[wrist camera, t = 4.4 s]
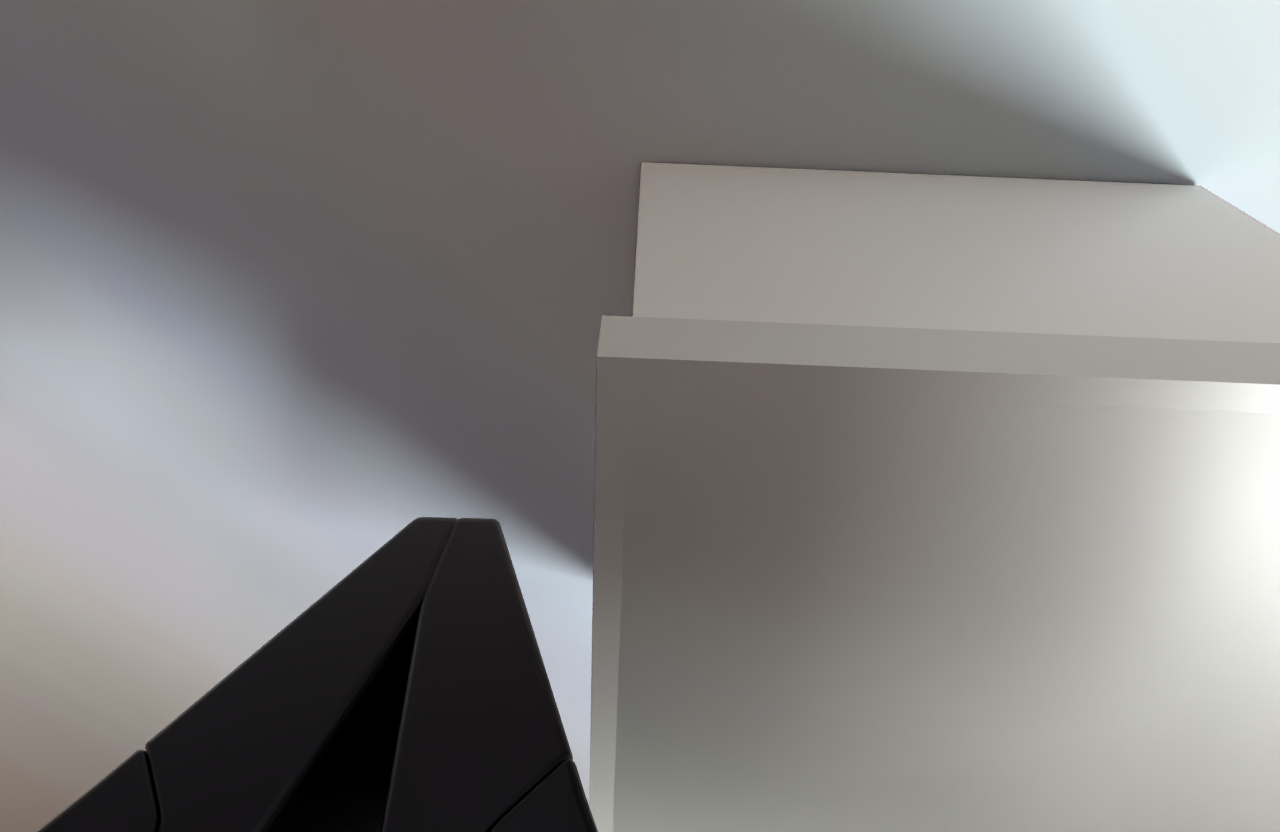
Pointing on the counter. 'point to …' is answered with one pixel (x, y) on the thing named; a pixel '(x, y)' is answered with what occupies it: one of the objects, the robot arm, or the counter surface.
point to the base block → (937, 508)
